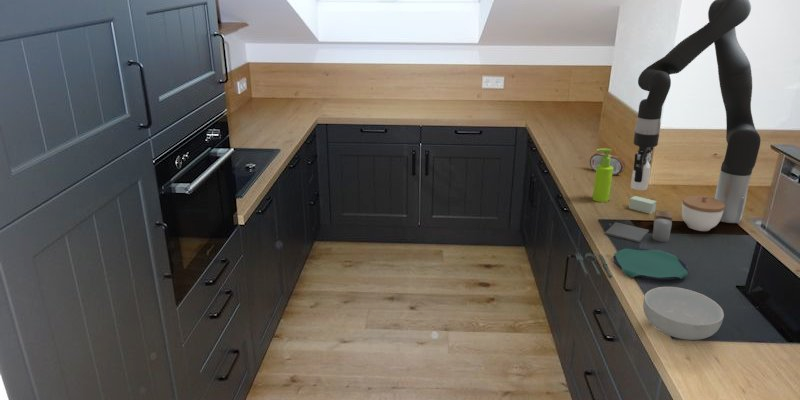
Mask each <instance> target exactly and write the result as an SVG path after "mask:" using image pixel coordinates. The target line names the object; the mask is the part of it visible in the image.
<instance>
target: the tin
mask: <svg viewBox="0 0 800 400" xmlns="http://www.w3.org/2000/svg"><path fill="white" fill-rule="evenodd" d="M604 153H605V152H602V151H600V152H596V153H594V154H592V156H591V157H590V158H589V166H590V168H591V169H592V170H593V171H595V172H596V168H597V165H601V158H602V157H603V156H604ZM609 157H610V158H611V162H610V166H612V167H613V173H612V176H617V175H618V176H619V174H621V173H623V172H624V170H625V168H626V164H625V161H624V160H623V158H622V157H620V156H618V155H614V154H610V153H609Z"/></svg>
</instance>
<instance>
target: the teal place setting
mask: <svg viewBox="0 0 800 400" xmlns="http://www.w3.org/2000/svg"><path fill="white" fill-rule="evenodd" d="M598 256H599V258H600V260H601V262H602V267H603V268H604V269H605V270H606V273H607V274H608V278H609V279H611V278H612V277H613V275H611V273H610V270H609V266H608V263H606V259H605V257H604V256H603V255H602V254H601V253H598ZM575 257H576V261H577V262H579V264H580V265H581V269H582V271H583V274H584V276H585V277H588V275H589V273H588V271H587V269H586V267H585V263H584V261H585V259H586V260H587V261H588V262H590V263H591V264H592V266H593V268H594V270H595V273H596V275H597V276H598V277H600V276H601V275H602V274H601V272H600V270H599V269H598V268H599V267H597V265H596V264H595V262H596V261H597V259H598V258H597V256H596V255H595V254H593V253H591V252H587V253H585V256H584V257H583V256H582V254H581V253H576V252H575ZM587 257H592V258H594V259H595V260H590V259H588V258H587ZM612 258H613V263H614V264H615V265H616V266H617V268H619V269H621V270H622V272H623V274H624V275H625V277H627V278H630V279H633V278H634V277H639V278H643V279H647V280H654V281H656V280H657V281H672V280H677V279H680V280H682V279H684V278H685V277H687V276H688V275H689V274H688V268H687V265H686V263H684V262H683V261H682V260H681V259H679V258H678V257H677V256H676V255H675V254H672V253H669V252H666V251H663V250H661V249H648V248H647V249H646V248H623V249H620V250H617V251H615V252H614V253H613V257H612Z"/></svg>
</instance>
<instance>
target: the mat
mask: <svg viewBox="0 0 800 400" xmlns="http://www.w3.org/2000/svg"><path fill="white" fill-rule="evenodd" d="M648 233H650V230H649V229H646V228H642V227H638V226H634V225H628V224H625V223H621V222H620V223H619V222H616V221H615V222H614V223H613V224H612V225H611V226H610V227H609V228H608V229H607V230H606V231H605V232H604V234H605V235H606V236H611V237H615V238H619V239H622V240H627V241H631V242H636V243H641V242H642V240H643V239H644V238H645V237H646V236H647V235H648Z"/></svg>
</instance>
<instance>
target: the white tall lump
mask: <svg viewBox="0 0 800 400" xmlns="http://www.w3.org/2000/svg"><path fill="white" fill-rule="evenodd" d="M644 162H645V161H644ZM638 167H640V165H638ZM651 169H652V166H651V163H650V164H649V162H648V160H647V164H646V165H645V166H644V171H643V175H642V181H641V182H635V181H634V179H635V172H636V171H635V170H634V166H633V168H632V176H631V182H630V188H631V189H632V190H635V191H646V190H647V189H648V187H649V182H650V176H651V171H652V170H651Z"/></svg>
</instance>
